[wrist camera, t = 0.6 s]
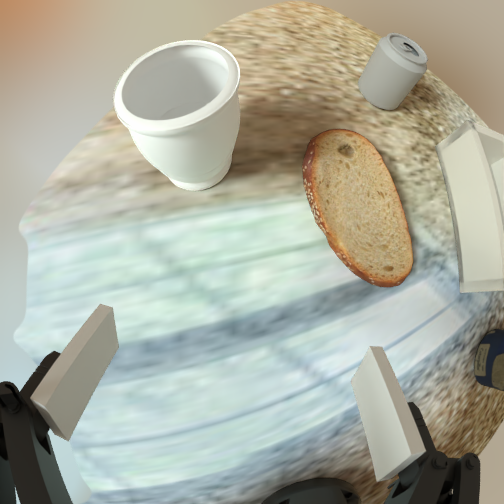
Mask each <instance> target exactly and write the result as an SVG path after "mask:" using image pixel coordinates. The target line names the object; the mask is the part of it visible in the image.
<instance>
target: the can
mask: <svg viewBox="0 0 504 504" xmlns="http://www.w3.org/2000/svg"><path fill="white" fill-rule="evenodd" d="M427 61H428V59H427V55H426V54H425V52H424V51H423V50H422V48H421V47H420V46H419V45H418V44H417V43H415V42H414V41H412V40H411V39H409V38H408V37H406V36H403V35H401V34H397V33H390V34H388V35H387V37H382V38H381V39H380V40H379V42H378V44H377V46H376V48H375V50H374V52H373V54H372V55H371V57H370V59H369V61H368V63H367V65H366V67H365V69H364V71H363V73H362V74H361V76H360V78H359V81H358V87H359V90H360V91H361V93H362V95H363V96H364V97H365V99H366V100H367V101H368V102H370V103H371V104H372V105H374V106H376V107H378V108H382V109H386V110H393V109H395V108H397V107H398V106H399V105H400V103H401V102H402V101H403V100H404V98H405V97H406V96H407V95H408V93H409V92H410V91H411V90H412V88H413V87H414V86H415V85H416V83H417V82H418V81H419V79H420V78H421V77H422V76H423V74H424V73H425V72H426V70H427V65H426V62H427Z"/></svg>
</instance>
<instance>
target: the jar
mask: <svg viewBox="0 0 504 504" xmlns="http://www.w3.org/2000/svg"><path fill="white" fill-rule="evenodd" d="M239 83H240V69H239V65H238V63H237V61H236V59H235V57H234V56H233V55H232V54H231V53H230V52H229V51H228V50H226V49H225V48H223V47H221V46H219V45H217V44H214V43H211V42H206V41H199V40H186V41H178V42H173V43H169V44H166V45H163V46H160V47H157V48H155V49H154V50H151V51H149V52H147V53H146V54H144V55H142V56H141V57H139V58H138V59H137V60H136V61H134V62H133V63H132V64H131V65H130V66H129V67H128V68H127V69H126V70H125V71H124V73H123V74H122V75H121V77H120V79H119V80H118V82H117V85H116V87H115V90H114V94H113V105H114V109H115V112H116V114H117V116H118V118H119V119H120V121H121V122H122V123H123V124H124V125H125V126H126V127H127V128H129V131H130V133H131V136H132V138H133V140H134V142H135V144H136V146H137V147H138V149H139V151H140V152H141V153H142V155H143V156H144V157H145V158H146V159H147V160H148V161H149V162H150V163H151V164H152V165H153V166H154V167H156V168H157V169H159V170H160V171H161V172H162V173H163V174H165V175H166V176H168V178H169V179H170V180H171V181H172V182H173V183H174V184H175V185H176V186H178V187H180V188H182V189H185V190H190V191H199V190H204V189H207V188H210V187H212V186H214V185H215V184H217V183H218V182H219V181H221V180H222V179H223V178H224V176H225V175H226V174H227V172H228V170H229V168H230V165H231V161H232V153H233V150H234V146H235V142H236V139H237V136H238V132H239V126H240V104H239V98H238V93H237V91H238V88H239Z"/></svg>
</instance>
